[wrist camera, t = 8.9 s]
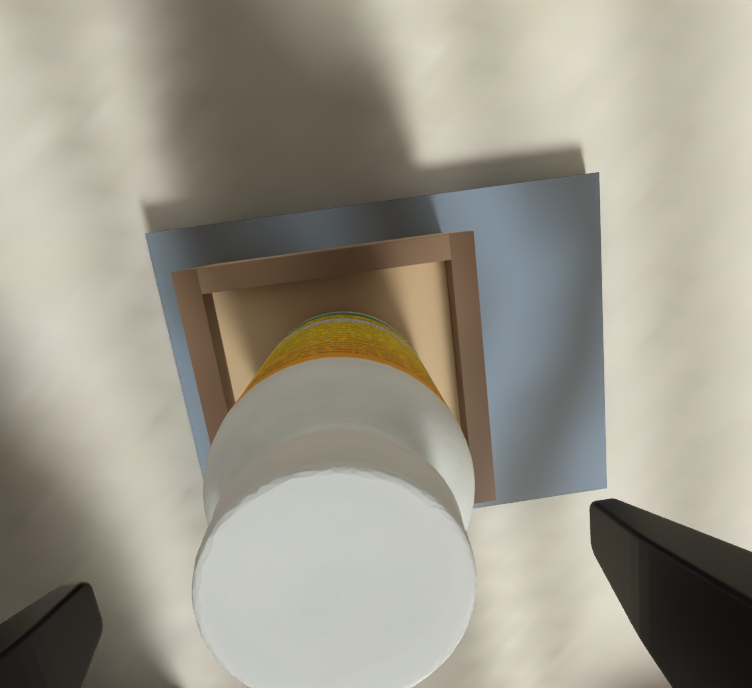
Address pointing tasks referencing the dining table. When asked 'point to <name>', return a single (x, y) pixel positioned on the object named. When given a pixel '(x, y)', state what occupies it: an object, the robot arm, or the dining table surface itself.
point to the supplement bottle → (337, 517)
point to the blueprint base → (511, 306)
